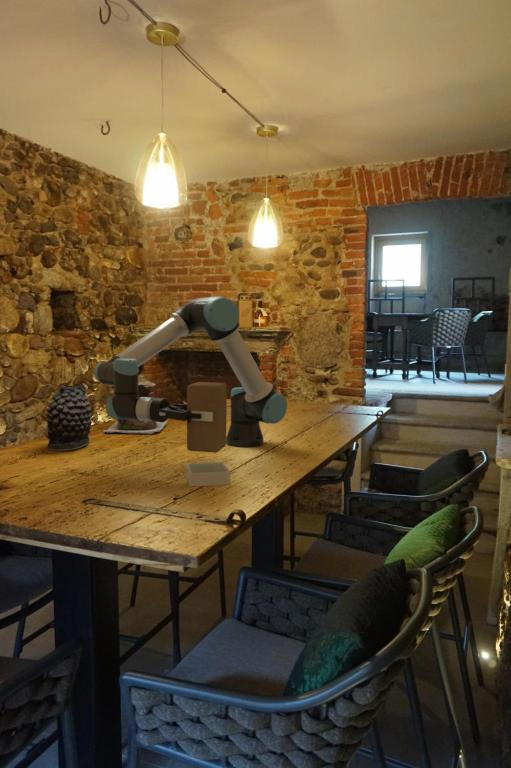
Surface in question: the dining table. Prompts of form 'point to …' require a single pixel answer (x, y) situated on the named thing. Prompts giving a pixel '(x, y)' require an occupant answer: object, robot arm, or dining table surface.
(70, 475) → the dining table surface
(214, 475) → the tray
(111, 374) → the robot arm
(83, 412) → the studded ceramic pot
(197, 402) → the block
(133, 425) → the cookie jar
